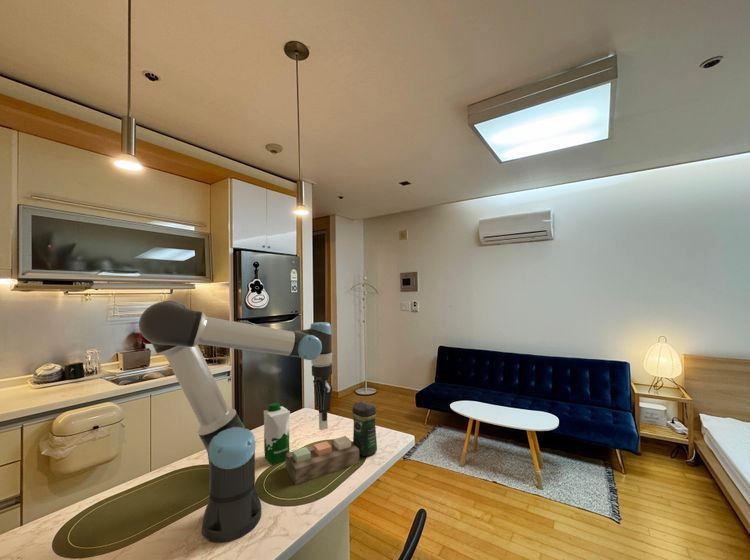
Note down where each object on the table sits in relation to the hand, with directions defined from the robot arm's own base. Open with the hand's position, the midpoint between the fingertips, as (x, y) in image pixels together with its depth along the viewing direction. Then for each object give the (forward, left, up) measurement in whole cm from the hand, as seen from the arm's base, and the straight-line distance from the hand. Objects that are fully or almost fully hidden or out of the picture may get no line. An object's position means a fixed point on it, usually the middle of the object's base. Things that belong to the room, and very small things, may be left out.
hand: (323, 428), depth 116 cm
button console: (0, 0, -13) cm, 13 cm away
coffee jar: (+18, 0, -13) cm, 22 cm away
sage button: (-8, 0, -10) cm, 13 cm away
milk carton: (-13, +14, -13) cm, 24 cm away
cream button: (+8, 0, -10) cm, 12 cm away
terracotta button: (0, 0, -10) cm, 10 cm away
